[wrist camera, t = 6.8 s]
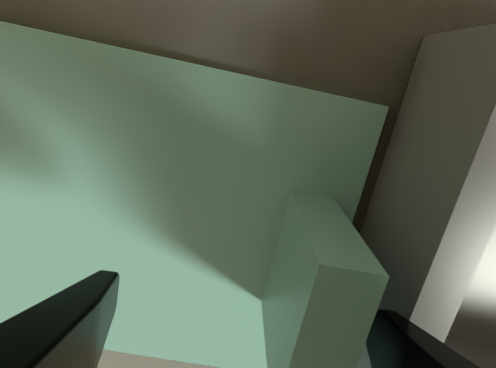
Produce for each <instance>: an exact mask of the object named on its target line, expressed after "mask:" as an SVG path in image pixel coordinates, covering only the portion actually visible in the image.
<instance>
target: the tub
mask: <svg viewBox="0 0 496 368" xmlns="http://www.w3.org/2000/svg"><path fill="white" fill-rule="evenodd" d="M359 234H360V236H361V237H362V239H363V240H364V241H365V243H366V244H367V246H368V247H369V249H370V250H371V251H372V253H373V254H374V256H375V257H376V258H377V260H378V261H379V263H380V264H381V265H382V267H383V268H384V270H385V271H386V272H387V274H388V275H389V280H388V282H387V285H386V288H385V290H384V293H383V296H382V299H381V301H380V304H379V307H378V309H377V310H379V309H386V310H393V311H396V312H397V313H399V314H400V315H402V316H403V317H405V318H406V319H408V320H409V321H411V322H412V323H414V324H415V325H417V326H418V327H420V328H422V329H423V330H425V331H426V332H428V333H429V334H431V335H432V336H434V337H435V338H437V339H438V340H440V341H441V342H443V343H444V344H446V345H447V346H449V347H450V348H452V349H453V350H455V351H456V352H458V353H459V354H461V355H462V356H464V357H465V358H467V359H468V360H470V361H471V362H473V363H474V364H476V365H477V366H479V367H480V368H496V23H493V24H488V25H482V26H476V27H470V28H464V29H458V30H452V31H447V32H441V33H435V34H429V35H424V36H423V39H422V42H421V45H420V49H419V52H418V55H417V58H416V61H415V64H414V67H413V70H412V73H411V76H410V79H409V82H408V85H407V88H406V91H405V94H404V98H403V101H402V104H401V107H400V110H399V113H398V116H397V119H396V122H395V125H394V128H393V131H392V134H391V137H390V140H389V144H388V147H387V150H386V153H385V156H384V159H383V162H382V165H381V168H380V171H379V174H378V177H377V180H376V183H375V186H374V190H373V193H372V196H371V199H370V202H369V205H368V208H367V211H366V214H365V217H364V220H363V223H362V226H361V229H360V232H359ZM356 368H371V364H370V360H369V356H368V352H367V348H366V342H365V345H364V348H363V350H362V353H361V356H360V358H359V361H358V364H357V367H356Z"/></svg>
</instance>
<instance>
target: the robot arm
mask: <svg viewBox="0 0 496 368" xmlns="http://www.w3.org/2000/svg"><path fill="white" fill-rule="evenodd" d="M119 280H120V275H119V273H118V272H114V271H107V270H100V271H97V272H96V273H94V274H92V275H90V276H88V277H86V278H84V279H82V280H81V281H79V282H77V283H75V284H73V285H71V286H69V287H67V288H65V289H64V290H62V291H60V292H58V293H56V294H54V295H52V296H50V297H49V298H47V299H45V300H43V301H41V302H39V303H37V304H35V305H33V306H32V307H30V308H28V309H26V310H24V311H22V312H20V313H18V314H17V315H15V316H13V317H11V318H9V319H7V320H5V321H3V322H2V323H0V368H97V365H98V362H99V359H100V356H101V353H102V350H103V347H104V344H105V341H106V338H107V335H108V332H109V329H110V326H111V323H112V320H113V317H114V314H115V310H116V305H117V297H118V289H119ZM366 348H367V352H368V356H369V360H370V364H371V368H480V367H479V366H477V365H476V364H474V363H473V362H471V361H470V360H468V359H467V358H465V357H464V356H462V355H461V354H459V353H458V352H456V351H455V350H453V349H452V348H450V347H449V346H447V345H446V344H444V343H443V342H441V341H440V340H438V339H437V338H435V337H434V336H432V335H431V334H429V333H428V332H426V331H425V330H423V329H422V328H420V327H418V326H417V325H415V324H414V323H412V322H411V321H409V320H408V319H406V318H405V317H403V316H402V315H400V314H399V313H397V312H396V311H393V310H386V309H379V310H377V312H376V315H375V318H374V320H373V323H372V326H371V328H370V331H369V334H368V337H367V339H366Z"/></svg>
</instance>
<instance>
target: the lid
mask: <svg viewBox="0 0 496 368" xmlns="http://www.w3.org/2000/svg"><path fill="white" fill-rule="evenodd" d="M388 109H389V107H388V106H385V105H380V104H376V103H371V102H366V101H362V100H357V99H353V98H348V97H344V96H339V95H335V94H330V93H326V92H321V91H317V90H312V89H307V88H303V87H298V86H294V85H289V84H285V83H280V82H276V81H271V80H267V79H262V78H258V77H253V76H248V75H244V74H239V73H235V72H230V71H226V70H221V69H217V68H212V67H208V66H203V65H199V64H194V63H189V62H185V61H180V60H176V59H171V58H167V57H162V56H158V55H153V54H149V53H144V52H140V51H135V50H130V49H126V48H121V47H117V46H112V45H108V44H103V43H99V42H94V41H90V40H85V39H81V38H76V37H71V36H67V35H62V34H58V33H53V32H49V31H44V30H40V29H35V28H31V27H26V26H22V25H17V24H12V23H8V22H3V21H0V323H2V322H3V321H5V320H7V319H9V318H11V317H13V316H15V315H17V314H18V313H20V312H22V311H24V310H26V309H28V308H30V307H32V306H33V305H35V304H37V303H39V302H41V301H43V300H45V299H47V298H49V297H50V296H52V295H54V294H56V293H58V292H60V291H62V290H64V289H65V288H67V287H69V286H71V285H73V284H75V283H77V282H79V281H81V280H82V279H84V278H86V277H88V276H90V275H92V274H94V273H96V272H97V271H100V270H107V271H114V272H118V273H119V275H120V280H119V289H118V297H117V305H116V310H115V314H114V317H113V320H112V323H111V326H110V329H109V332H108V335H107V338H106V341H105V344H104V347H103V349H104V350H110V351H117V352H123V353H130V354H136V355H143V356H149V357H156V358H162V359H169V360H175V361H181V362H188V363H194V364H201V365H207V366H214V367H220V368H356V367H357V364H358V361H359V358H360V356H361V353H362V350H363V348H364V345H365V342H366V339H367V337H368V334H369V331H370V328H371V326H372V323H373V320H374V318H375V315H376V312H377V309H378V307H379V304H380V301H381V299H382V296H383V293H384V290H385V288H386V285H387V282H388V280H389V275H388V274H387V272H386V271H385V270H384V268H383V267H382V265H381V264H380V263H379V261H378V260H377V258H376V257H375V256H374V254H373V253H372V251H371V250H370V249H369V247H368V246H367V244H366V243H365V241H364V240H363V239H362V237H361V236H360V234H359V233H358V232H357V230H356V229H355V227H354V226H353V225H352V222H353V219H354V216H355V213H356V209H357V206H358V203H359V200H360V197H361V194H362V191H363V187H364V184H365V181H366V178H367V175H368V172H369V169H370V166H371V162H372V159H373V156H374V153H375V150H376V147H377V144H378V140H379V137H380V134H381V131H382V128H383V125H384V122H385V118H386V115H387V112H388Z"/></svg>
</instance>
